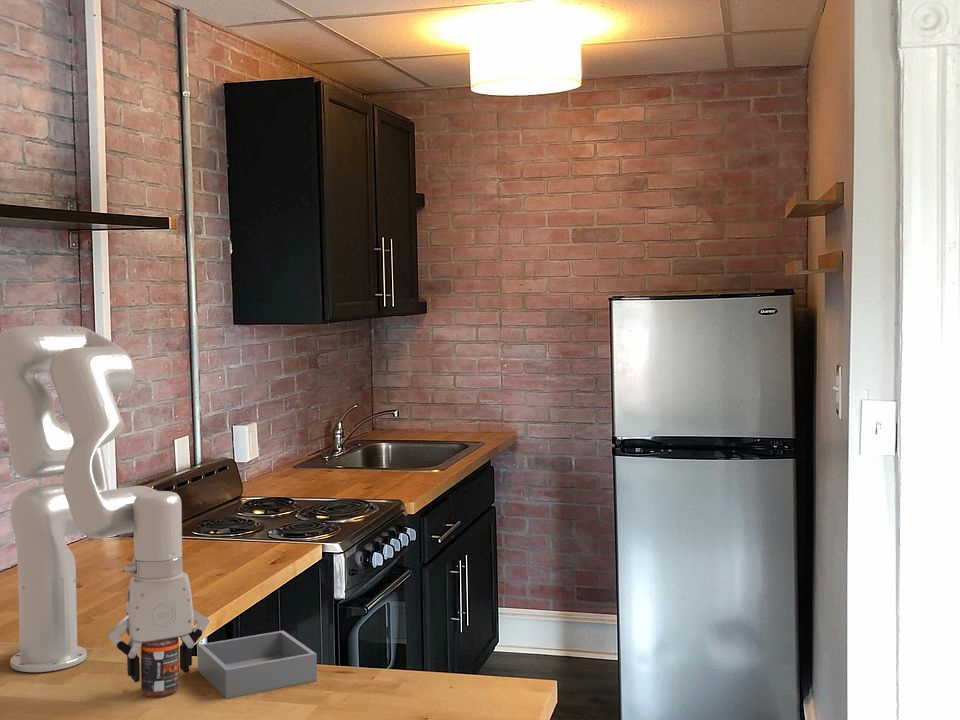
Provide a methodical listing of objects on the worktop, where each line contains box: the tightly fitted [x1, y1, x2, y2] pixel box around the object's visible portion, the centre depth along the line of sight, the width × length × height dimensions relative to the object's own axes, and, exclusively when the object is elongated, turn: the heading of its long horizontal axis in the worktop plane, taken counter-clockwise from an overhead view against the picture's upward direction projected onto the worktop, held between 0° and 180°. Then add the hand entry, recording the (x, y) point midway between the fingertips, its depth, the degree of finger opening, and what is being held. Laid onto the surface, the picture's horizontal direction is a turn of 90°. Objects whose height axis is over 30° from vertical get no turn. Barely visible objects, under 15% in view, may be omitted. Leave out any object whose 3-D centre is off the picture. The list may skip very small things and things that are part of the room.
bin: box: [197, 630, 318, 699], centre depth 177 cm, size 16×16×5 cm
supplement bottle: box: [140, 637, 180, 698], centre depth 169 cm, size 6×6×11 cm
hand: (160, 674), depth 169 cm, fingers open, 7 cm apart
